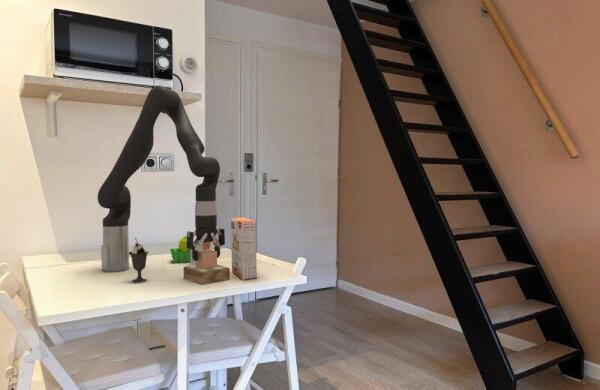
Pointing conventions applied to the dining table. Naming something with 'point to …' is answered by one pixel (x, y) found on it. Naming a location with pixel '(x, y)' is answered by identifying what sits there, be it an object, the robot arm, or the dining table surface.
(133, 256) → the sundae
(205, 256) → the cube
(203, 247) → the small box
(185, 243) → the fruit basket
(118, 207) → the robot arm
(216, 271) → the block
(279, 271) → the dining table surface
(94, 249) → the dining table surface
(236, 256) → the cracker box
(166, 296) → the dining table surface
